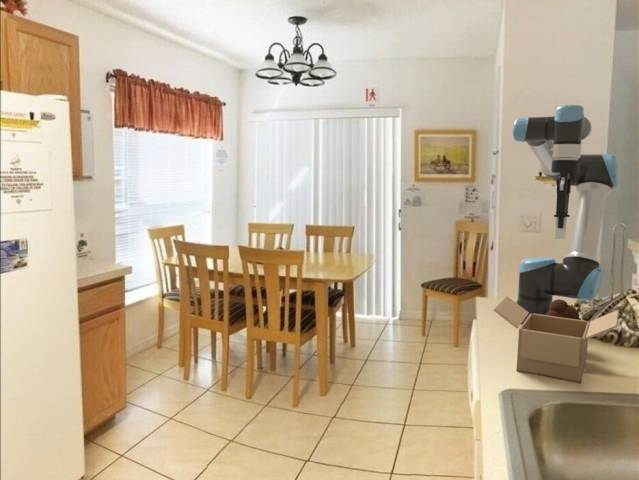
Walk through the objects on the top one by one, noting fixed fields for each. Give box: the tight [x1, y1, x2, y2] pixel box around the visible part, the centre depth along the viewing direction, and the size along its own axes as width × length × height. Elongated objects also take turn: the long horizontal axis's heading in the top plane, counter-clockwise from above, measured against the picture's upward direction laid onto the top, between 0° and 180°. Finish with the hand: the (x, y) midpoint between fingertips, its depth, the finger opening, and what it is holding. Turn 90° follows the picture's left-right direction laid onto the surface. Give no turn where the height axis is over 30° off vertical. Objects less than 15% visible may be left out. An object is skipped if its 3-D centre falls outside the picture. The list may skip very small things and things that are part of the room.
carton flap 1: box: [493, 295, 529, 329], centre depth 155 cm, size 18×8×1 cm
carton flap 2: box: [586, 309, 620, 340], centre depth 144 cm, size 18×8×1 cm
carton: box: [516, 314, 590, 384], centre depth 151 cm, size 19×16×12 cm
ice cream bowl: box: [546, 298, 582, 320], centre depth 167 cm, size 11×11×15 cm
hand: (560, 238), depth 162 cm, fingers closed
